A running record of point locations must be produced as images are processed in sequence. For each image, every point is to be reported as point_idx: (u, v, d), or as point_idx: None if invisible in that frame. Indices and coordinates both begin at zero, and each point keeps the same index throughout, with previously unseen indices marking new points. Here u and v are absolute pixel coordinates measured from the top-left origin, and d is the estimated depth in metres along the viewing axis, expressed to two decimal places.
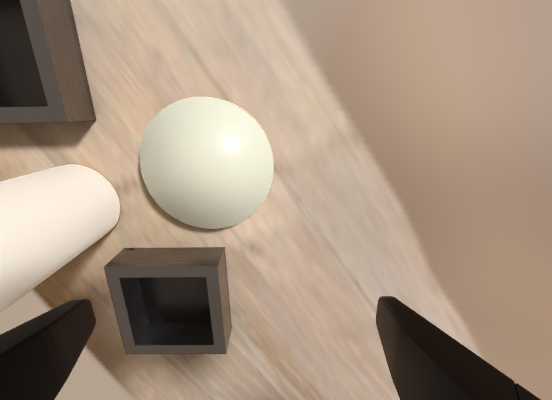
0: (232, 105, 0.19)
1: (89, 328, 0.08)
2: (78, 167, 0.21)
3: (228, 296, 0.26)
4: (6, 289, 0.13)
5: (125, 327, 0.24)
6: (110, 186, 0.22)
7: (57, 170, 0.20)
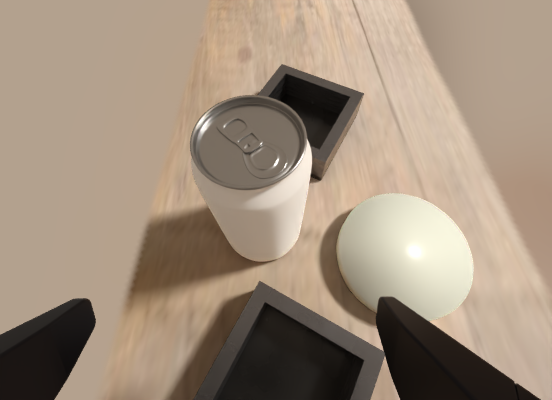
0: (447, 217, 0.22)
1: (89, 328, 0.08)
2: None
3: None
4: (293, 194, 0.13)
5: (217, 374, 0.17)
6: None
7: None
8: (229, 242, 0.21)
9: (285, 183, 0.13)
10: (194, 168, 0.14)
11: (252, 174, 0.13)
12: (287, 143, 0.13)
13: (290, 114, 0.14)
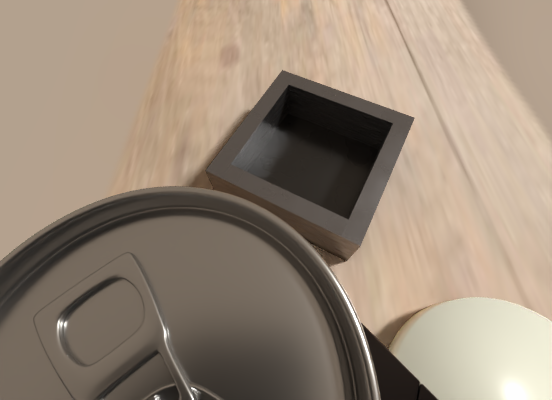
0: None
1: None
2: None
3: None
4: None
5: None
6: None
7: None
8: None
9: None
10: None
11: None
12: None
13: (306, 255, 0.04)
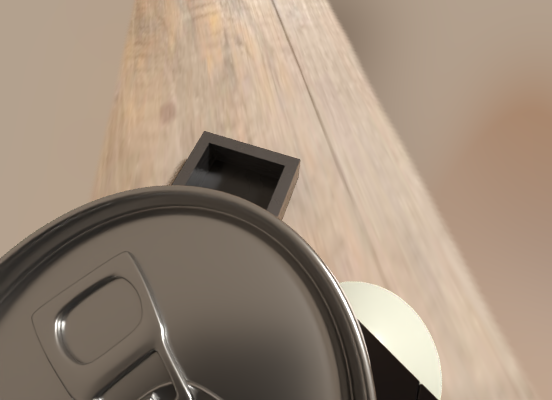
0: (407, 305, 0.19)
1: None
2: None
3: None
4: None
5: None
6: None
7: None
8: None
9: None
10: None
11: None
12: None
13: (304, 254, 0.04)
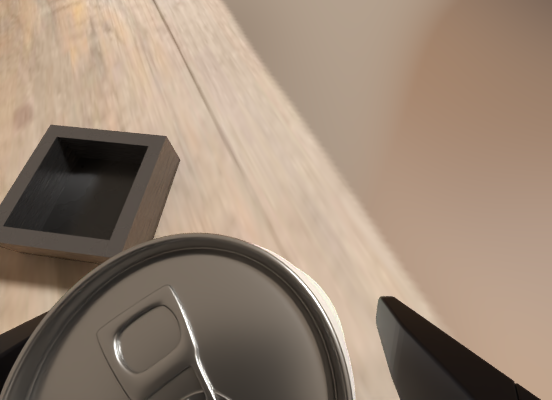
0: None
1: None
2: None
3: None
4: None
5: None
6: None
7: None
8: None
9: None
10: None
11: None
12: None
13: (306, 296, 0.05)
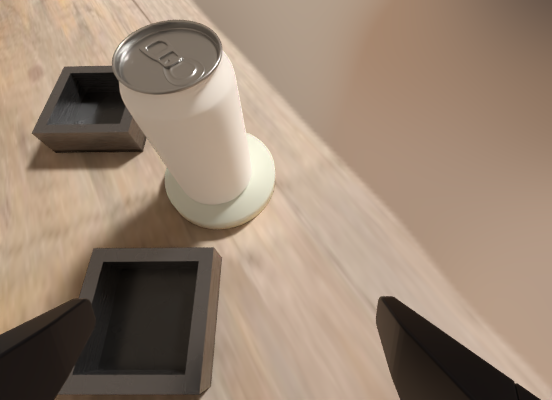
0: (246, 133, 0.27)
1: (89, 328, 0.08)
2: None
3: (215, 323, 0.21)
4: (215, 105, 0.14)
5: None
6: (251, 169, 0.24)
7: None
8: None
9: (203, 91, 0.14)
10: (120, 87, 0.14)
11: (170, 83, 0.14)
12: (205, 57, 0.14)
13: (210, 34, 0.15)
